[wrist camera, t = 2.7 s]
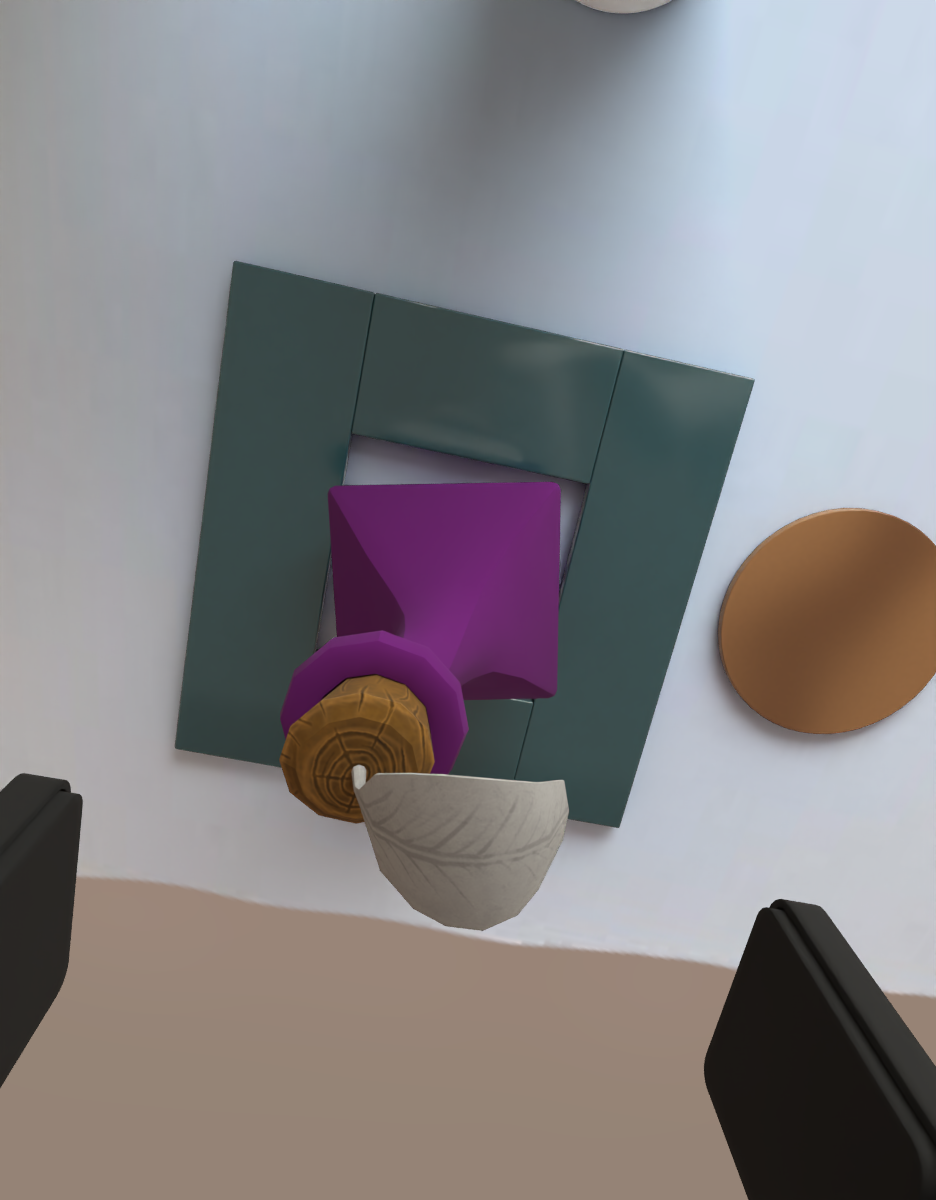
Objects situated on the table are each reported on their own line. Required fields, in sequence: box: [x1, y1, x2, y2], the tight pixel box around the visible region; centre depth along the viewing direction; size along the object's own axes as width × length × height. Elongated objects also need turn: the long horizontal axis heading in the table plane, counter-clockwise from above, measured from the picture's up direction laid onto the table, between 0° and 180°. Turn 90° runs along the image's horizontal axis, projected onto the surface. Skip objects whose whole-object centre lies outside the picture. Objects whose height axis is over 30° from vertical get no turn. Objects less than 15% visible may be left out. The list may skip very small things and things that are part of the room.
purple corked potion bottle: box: [279, 482, 569, 931], centre depth 21 cm, size 8×8×18 cm
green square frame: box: [175, 261, 754, 828], centre depth 29 cm, size 18×18×1 cm
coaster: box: [718, 508, 936, 734], centre depth 30 cm, size 9×9×1 cm
